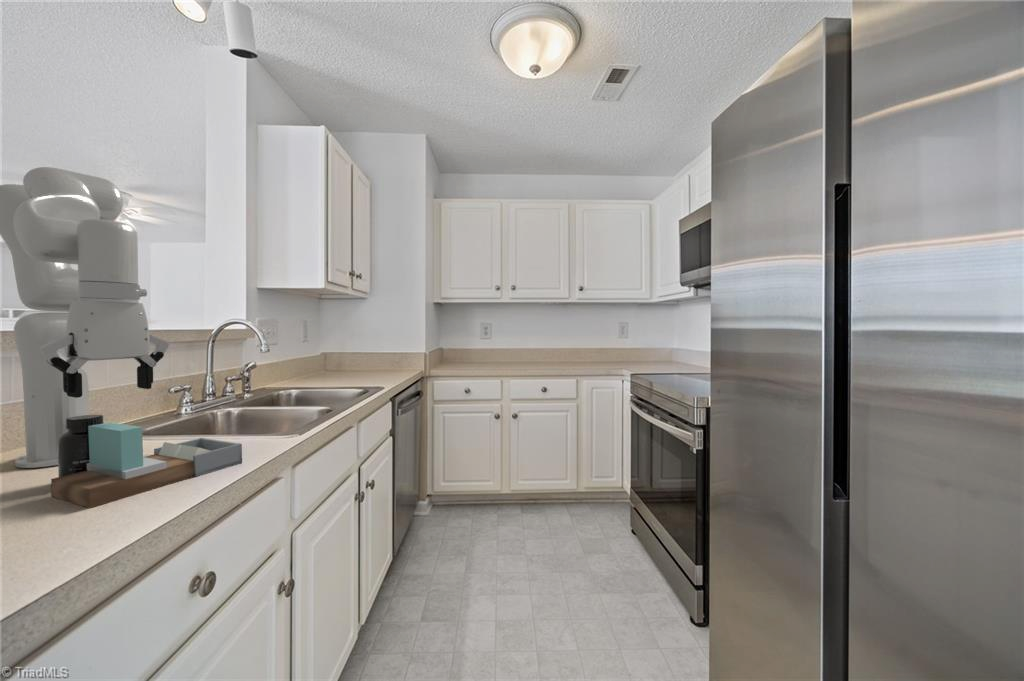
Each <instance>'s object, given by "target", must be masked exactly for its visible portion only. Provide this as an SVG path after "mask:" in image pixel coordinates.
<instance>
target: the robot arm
mask: <svg viewBox="0 0 1024 681" xmlns="http://www.w3.org/2000/svg"><path fill="white" fill-rule="evenodd" d="M22 179H23V180H22V181H23V182H22V183H23V184H16V183H15V184H14V183H12V184H11V183H7V184H6V183H5V184H0V238H2V239H3V242H4V243H5V245H6V246H7V247H8V249H9V251H10V254H11V257H12V259H11V260H12V263H13V269H14V270H13V271H14V277H15V283H16V288H17V292H18V296H19V299H20V301H21V303H22V304H23V305H24V306H25V307H27V308H28V309H31V310H35V311H40V312H35V313H30V314H27V315H24V316H22V317H20V318H19V319H17V321H16V322H15V324H14V327H13V336H14V340H15V344H16V348H17V351H18V355H19V360H20V366H21V377H22V390H23V411H24V412H23V414H24V434H25V439H24V440H25V455H24V456H20V457H19V458H17V459H15V460H14V466H15V467H16V468H19V469H36V468H38V469H39V468H46V467H54V466H58V440H59V438H60V437H61V436H62V435H63V434H65V433H66V432H68V429H66V419H67V418H70V417H75V416H83V415H90V399H89V398H90V395H89V394H90V393H89V392H90V391H89V378H88V375H87V373H86V371H85V370H84V369H83V368H82V367H83V366H84V365H85V364H86V363H87V362H88V361H109V360H122V359H123V360H124V359H125V360H126V359H134V360H135V361H136V362H137V363H138V364H139V365H140V366H137V368H136V387H137V388H138V389H143V390H145V389H146V390H151V389H152V384H153V383H154V368H155V367H156V366H157V364H158V363H159V361H161V360H162V359H163V358H164V356H165V353H166V352H167V350H168V348H169V346H170V343H169V342H168V341H165V340H163V339H161V338H158V337H156V336H154V335H151V334H150V330H149V324H148V323H149V322H148V317H147V314H146V310H145V307H144V303H143V302H139V301H140V300H141V299H140V298H142V297H147V295H148V291H147V289H145V288H141V287H140V284H139V253H138V252H139V251H138V250H139V248H138V247H139V246H138V244H139V242H138V232H137V230H136V228H134V226H132V225H131V224H128V223H126V222H121V221H117V219H118V217H119V216H120V215H121V213H122V210H123V206H124V199H123V195H122V193H121V191H120V189H119V187H118V186H117V185H116V184H115V183H114V182H112V181H110V180H109V179H106V178H103V177H98V176H93V175H89V174H85V173H84V174H83V173H80V172H75V171H73V170H72V171H71V170H67V169H63V168H57V167H50V166H42V167H41V166H40V167H35V168H32V169H30V170H29V171H28V172H26V174H25V175H24V176H23V178H22ZM71 265H77V269H75V268H73V267H72V266H71ZM41 311H42V312H41ZM43 311H44V312H43ZM151 345H153V346H155V348H154V351H153V352H151V353H150V349H151V348H150V347H151ZM149 353H150V354H149Z"/></svg>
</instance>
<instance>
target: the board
mask: <svg viewBox="0 0 1024 681" xmlns="http://www.w3.org/2000/svg"><path fill="white" fill-rule="evenodd" d="M144 457H145V458H151V459H156V460H161V461H167V468H165V469H162V470H158V471H154V472H151V473H147V474H143V475H140V476H136V477H132V478H129V479H122V478H118V477H113V476H109V475H105V474H100V473H96V472H92V471H83V472H79V473H74V474H70V475H66V476H62V477H59V476H58V477H54V478H51V479H50V480H51V481H50V482H51V497H52V498H55V499H58V500H61V501H65V502H69V503H72V504H74V505H79V506H82V507H86V508H89V509H92V508H95V507H98V506H99V507H100V506H102V505H105V504H106V505H107V504H109V503H112V502H114V501H119V500H122V499H124V498H128V497H131V496H135V495H138V494H142V493H145V492H149V491H152V490H155V489H158V488H162V487H164V486H169V485H171V484H173V483H179V482H181V481H184V479H185V480H188V479H191V478H195V477H194V461H191V460H186V459H180V458H175V457H169V456H164V455H158V454H150V455H145V456H144ZM190 477H191V478H190ZM187 478H188V479H187Z"/></svg>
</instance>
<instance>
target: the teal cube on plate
mask: <svg viewBox="0 0 1024 681" xmlns="http://www.w3.org/2000/svg"><path fill="white" fill-rule="evenodd" d="M88 432H89V458H90V463H88V464H87V471H92V472H96V473H100V474H105V475H109V476H113V477H118V478H122V479H129V478H132V477H136V476H140V475H143V474H147V473H151V472H154V471H158V470H162V469H165V468H167V461H161V460H156V459H151V458H145V456H144V448H143V445H144V444H143V426H137V425H129V424H122V423H115V422H105V423H104V424H98V425H92V426H88Z"/></svg>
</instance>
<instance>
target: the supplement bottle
mask: <svg viewBox="0 0 1024 681" xmlns="http://www.w3.org/2000/svg"><path fill="white" fill-rule="evenodd" d="M98 424H104V415H103V414H89V415H83V416H75V417H70V418H67V419H66V429H68V432H66V433H65V434H63V435H62V436H61V437H60V438H59V440H58V465H57V466H58V467H57V468H58V469H57V470H58V477H62V476H66V475H70V474H74V473H79V472H83V471H87V464H88V463H90V458H89V432H88V426H92V425H98Z"/></svg>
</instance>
